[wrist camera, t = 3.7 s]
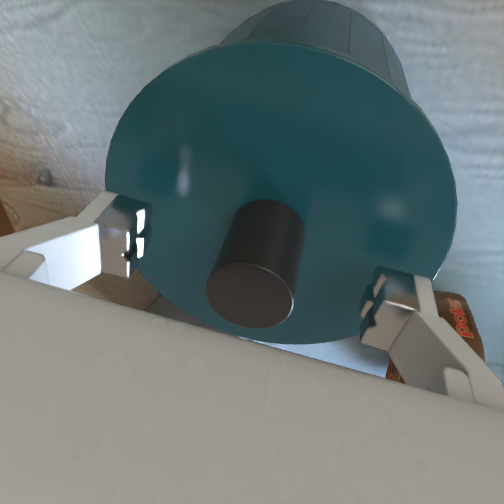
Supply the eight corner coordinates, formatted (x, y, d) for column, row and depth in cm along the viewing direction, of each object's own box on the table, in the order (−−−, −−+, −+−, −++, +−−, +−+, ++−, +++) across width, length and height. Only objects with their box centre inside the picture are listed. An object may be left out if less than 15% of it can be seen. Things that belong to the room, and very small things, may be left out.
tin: (417, 260, 27) (436, 370, 20) (470, 266, 26) (507, 380, 20) (378, 397, 36) (383, 503, 29) (417, 403, 35) (430, 512, 29)
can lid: (406, -51, 10) (432, -36, 6) (475, 299, 15) (507, 406, 12) (54, 117, 14) (-41, 178, 11) (208, 340, 20) (178, 426, 16)
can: (375, -45, 18) (391, -14, 9) (424, 166, 23) (460, 304, 15) (175, 52, 22) (65, 133, 14) (254, 213, 27) (209, 342, 19)
